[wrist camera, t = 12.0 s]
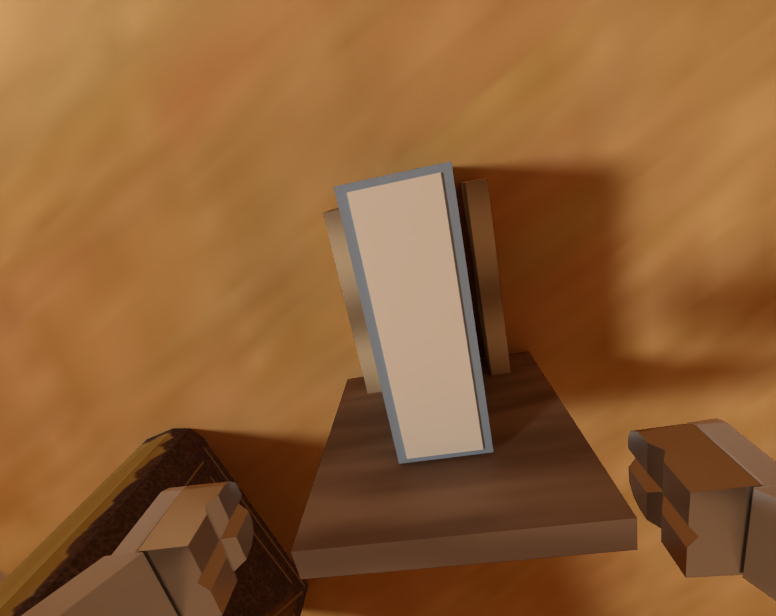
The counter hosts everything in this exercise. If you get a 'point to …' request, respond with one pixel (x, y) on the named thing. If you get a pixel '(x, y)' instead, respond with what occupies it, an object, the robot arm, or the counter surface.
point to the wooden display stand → (457, 459)
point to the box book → (418, 310)
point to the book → (124, 509)
